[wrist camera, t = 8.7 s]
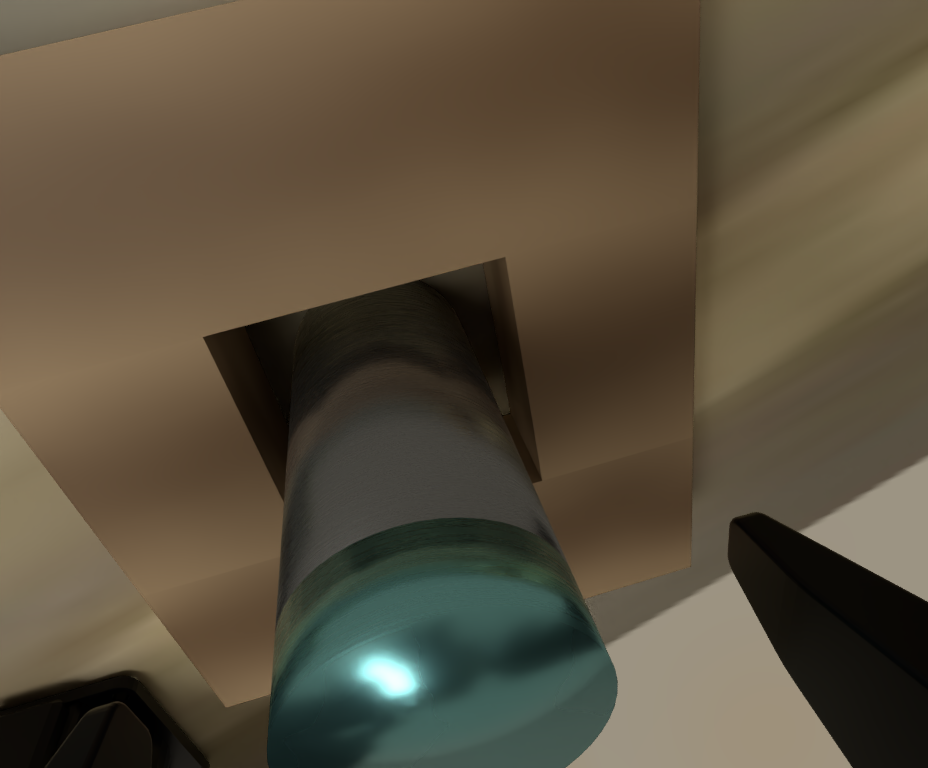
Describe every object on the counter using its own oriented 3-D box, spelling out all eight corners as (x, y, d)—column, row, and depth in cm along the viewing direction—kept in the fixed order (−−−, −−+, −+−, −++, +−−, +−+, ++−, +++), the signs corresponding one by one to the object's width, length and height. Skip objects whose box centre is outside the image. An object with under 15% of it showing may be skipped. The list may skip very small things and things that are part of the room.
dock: (646, 498, 21) (691, 566, 18) (237, 619, 20) (226, 707, 17) (622, -84, 12) (702, -107, 10) (-105, 84, 11) (-226, 107, 9)
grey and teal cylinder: (478, 399, 17) (625, 763, 9) (325, 441, 17) (333, 857, 9) (446, 253, 15) (606, 568, 7) (268, 300, 15) (202, 688, 6)
